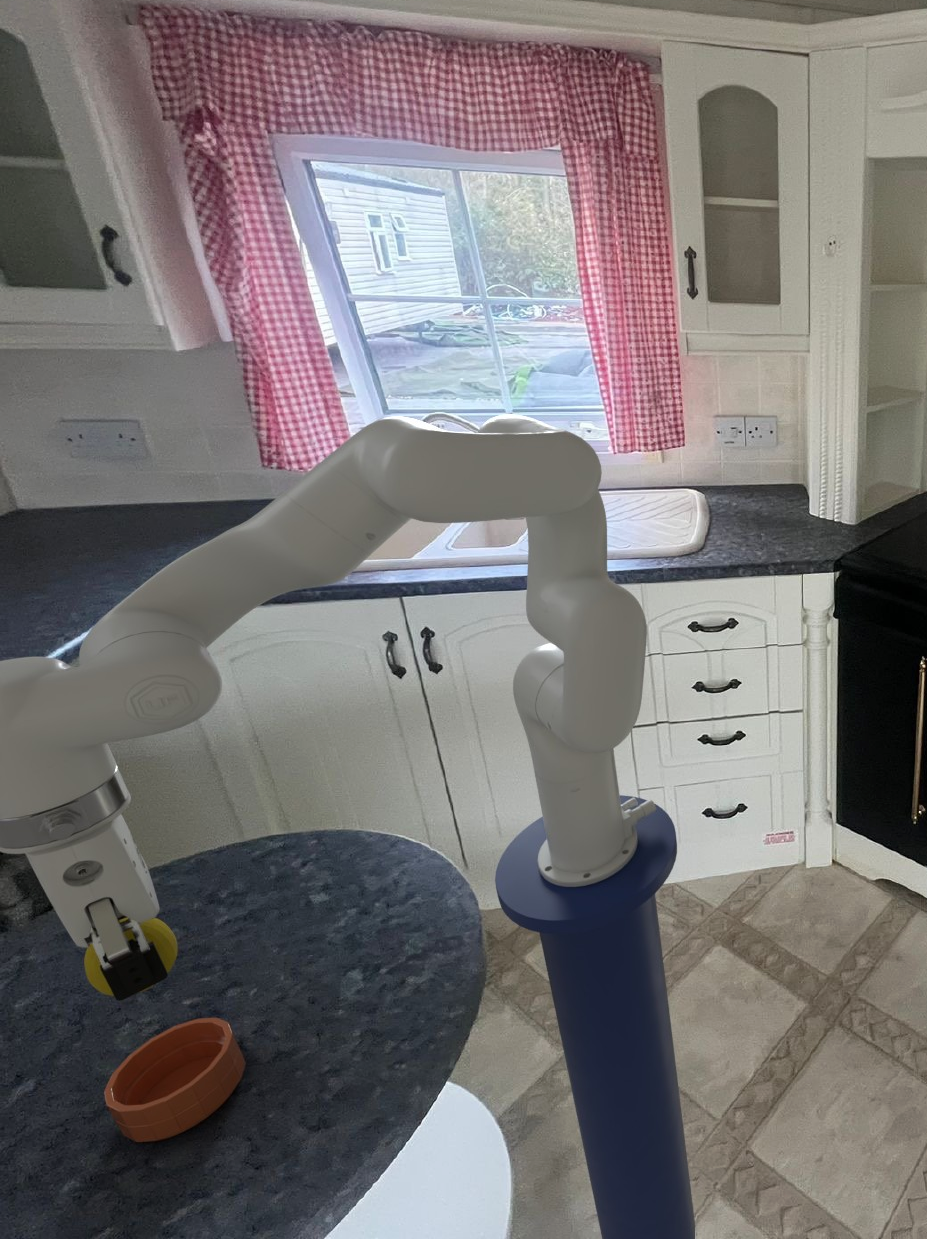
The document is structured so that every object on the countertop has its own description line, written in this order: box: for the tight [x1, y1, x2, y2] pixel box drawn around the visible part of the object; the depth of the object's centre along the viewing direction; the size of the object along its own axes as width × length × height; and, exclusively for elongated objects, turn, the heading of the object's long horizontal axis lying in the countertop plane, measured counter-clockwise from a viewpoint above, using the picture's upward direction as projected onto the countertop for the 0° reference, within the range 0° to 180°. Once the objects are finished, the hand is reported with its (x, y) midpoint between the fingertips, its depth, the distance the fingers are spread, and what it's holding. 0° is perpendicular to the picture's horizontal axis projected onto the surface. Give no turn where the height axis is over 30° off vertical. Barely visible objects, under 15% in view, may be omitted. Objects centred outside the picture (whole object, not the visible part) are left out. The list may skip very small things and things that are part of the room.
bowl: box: [103, 1017, 247, 1143], centre depth 69 cm, size 9×9×5 cm
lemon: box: [83, 917, 179, 997], centre depth 65 cm, size 6×6×8 cm
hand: (137, 964), depth 65 cm, fingers closed on lemon, 5 cm apart
